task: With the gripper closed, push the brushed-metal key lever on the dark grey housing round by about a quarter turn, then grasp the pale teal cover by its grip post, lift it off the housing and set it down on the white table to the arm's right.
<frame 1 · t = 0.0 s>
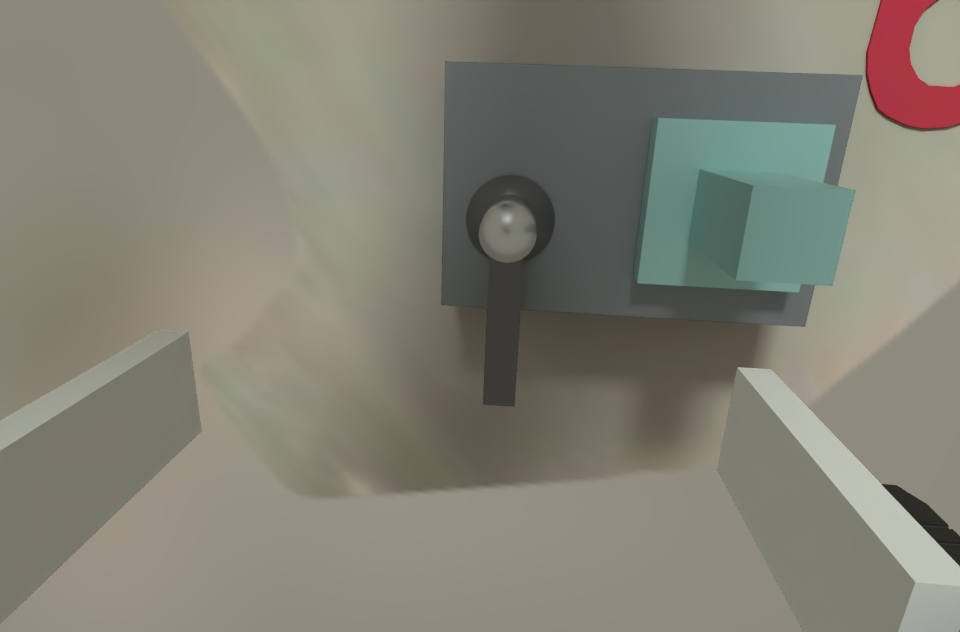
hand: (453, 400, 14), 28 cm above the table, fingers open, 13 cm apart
cover: (722, 204, 33), point 6 cm above the table, touching housing
key: (505, 300, 34), point 8 cm above the table, hinge at 0.0°
housing: (618, 188, 39), on the table
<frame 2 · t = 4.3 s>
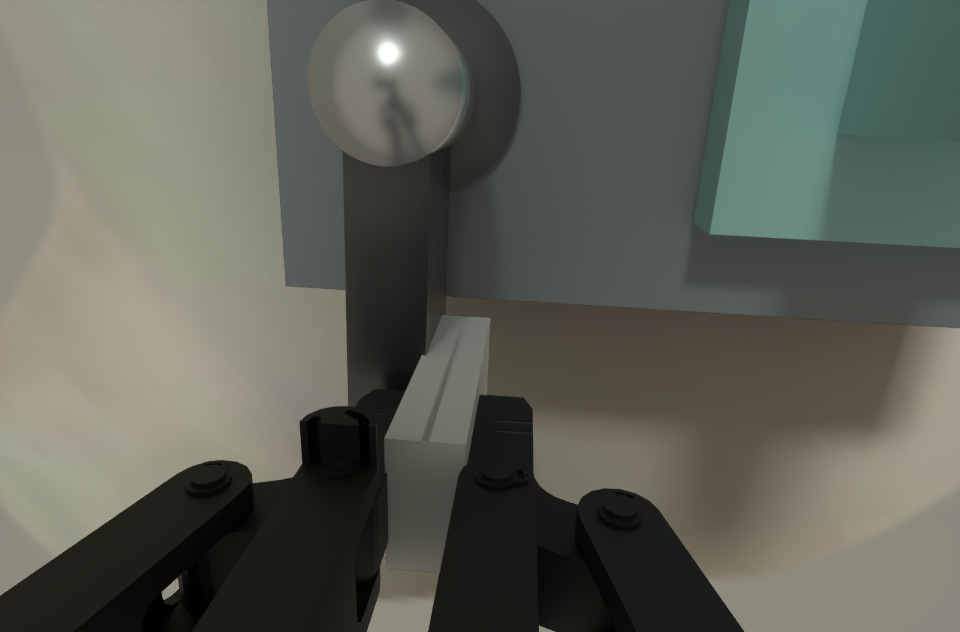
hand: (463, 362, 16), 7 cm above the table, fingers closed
cover: (910, 50, 14), point 6 cm above the table, touching housing
key: (403, 272, 15), point 8 cm above the table, hinge at -0.5°, touching gripper
housing: (651, 62, 20), on the table
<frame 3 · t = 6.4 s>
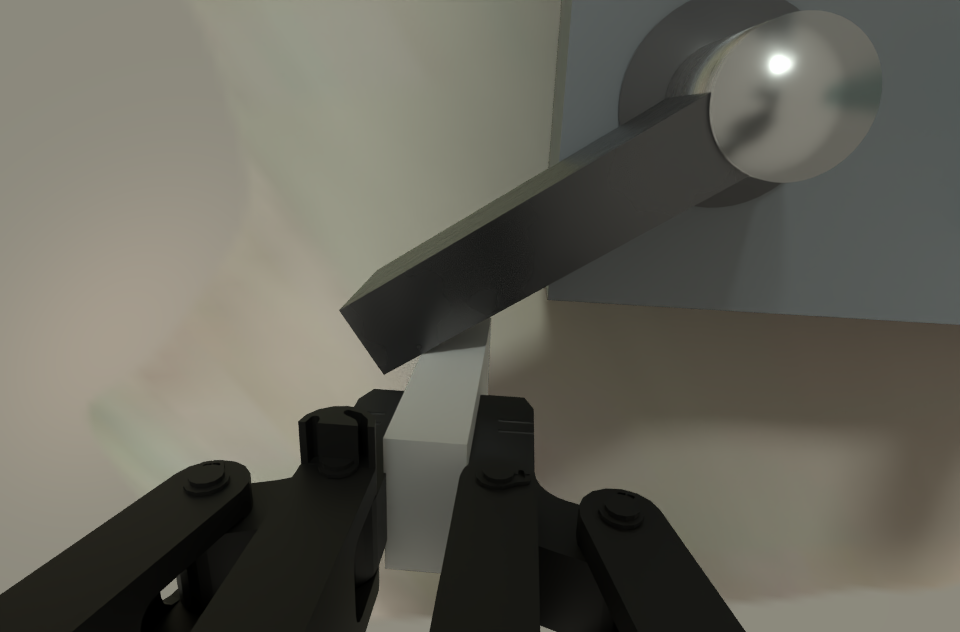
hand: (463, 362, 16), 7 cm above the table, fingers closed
key: (580, 201, 14), point 8 cm above the table, hinge at -56.7°, touching gripper
housing: (884, 69, 20), on the table
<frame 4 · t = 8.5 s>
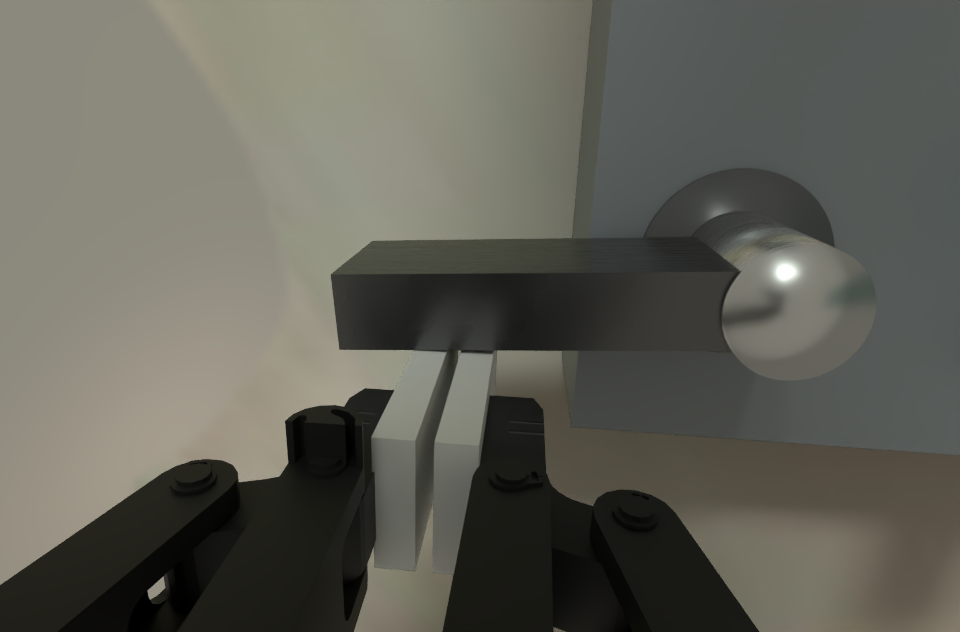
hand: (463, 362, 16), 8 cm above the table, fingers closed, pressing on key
key: (584, 287, 15), point 8 cm above the table, hinge at -86.3°, touching gripper
housing: (886, 192, 21), on the table
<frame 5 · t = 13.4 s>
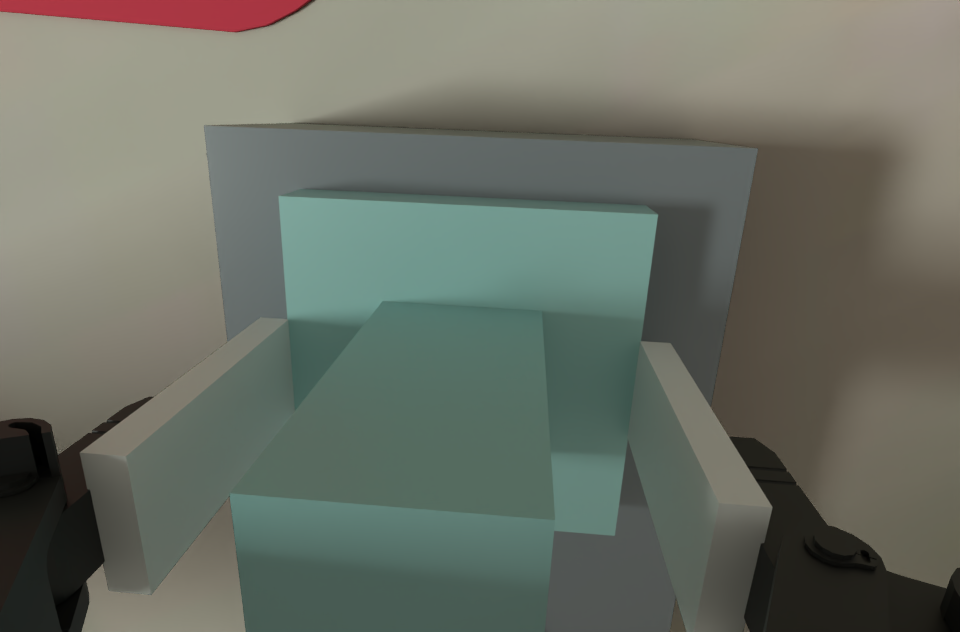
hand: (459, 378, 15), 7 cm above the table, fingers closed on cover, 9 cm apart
cover: (465, 356, 17), point 6 cm above the table, touching gripper, housing
housing: (477, 413, 24), on the table
when the fingers open (3 cm above the table, at t = 21.1 s): cover drops 2 cm, on the table.
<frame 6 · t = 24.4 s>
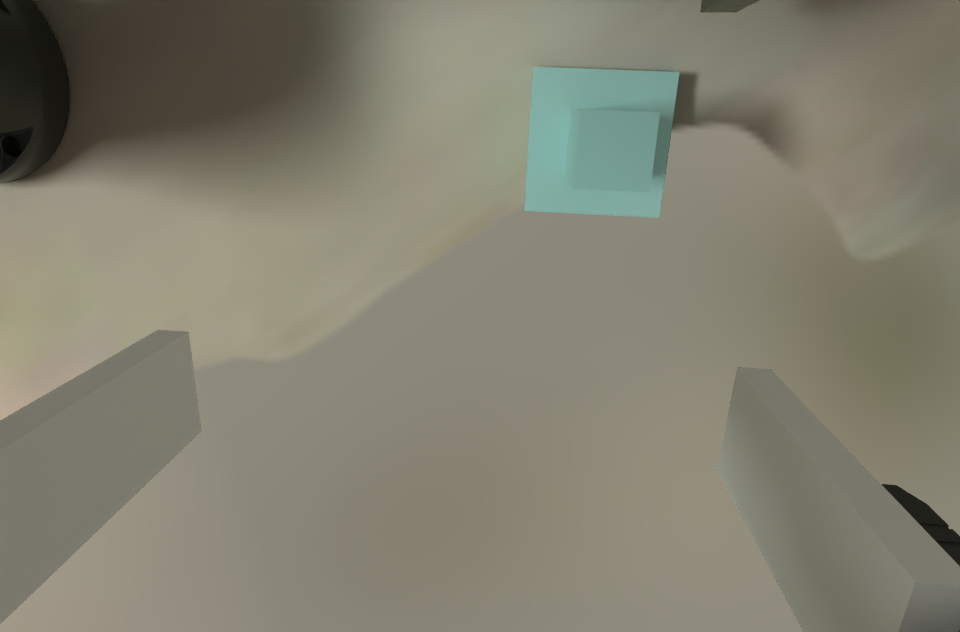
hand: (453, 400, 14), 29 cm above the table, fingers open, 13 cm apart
cover: (595, 143, 39), on the table
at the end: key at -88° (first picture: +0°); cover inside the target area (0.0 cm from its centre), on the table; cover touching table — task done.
